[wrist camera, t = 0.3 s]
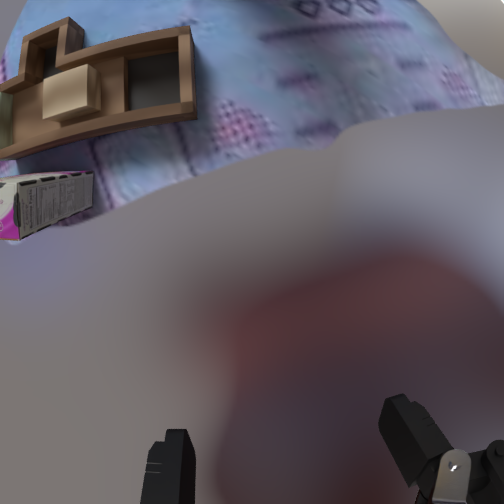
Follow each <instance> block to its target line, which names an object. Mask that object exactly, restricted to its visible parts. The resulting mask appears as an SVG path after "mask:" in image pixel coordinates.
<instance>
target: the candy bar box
mask: <svg viewBox="0 0 504 504" xmlns="http://www.w3.org/2000/svg"><path fill="white" fill-rule="evenodd" d="M92 190H93V171H60V172H42V173H28V174H23V175H16V176H10V177H4V178H0V239H2V240H17V241H20V240H21V239H24V238H25V237H28V236H30V235H31V234H34V233H36V232H38V231H40V230H42V229H44V228H46V227H48V226H51V225H53V224H55V223H57V222H59V221H61V220H63V219H66V218H68V217H70V216H72V215H75V214H77V213H79V212H82V211H84V210H87V209H89V208H91V207H92V204H93V193H92Z"/></svg>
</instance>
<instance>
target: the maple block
mask: <svg viewBox="0 0 504 504" xmlns="http://www.w3.org/2000/svg"><path fill="white" fill-rule="evenodd" d="M98 111H101V73H100V72H99V71H97V70H96V69H94V68H93V67H92V66H90V65H89V64H86V65H82V66H79V67H76V68H73V69H70V70H67V71H64V72H62V73H59V74H56V75H54V76H51V77H48V78H46V79H44V84H43V119H44V120H50V121H55V122H62V121H65V120H69V119H72V118H76V117H79V116H83V115H86V114H90V113H94V112H98Z"/></svg>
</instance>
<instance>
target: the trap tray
mask: <svg viewBox="0 0 504 504" xmlns="http://www.w3.org/2000/svg"><path fill="white" fill-rule="evenodd" d="M83 37H84V29H83V28H82V27H81V26H79V25H78V24H77V23H76V22H75V21H74V20H73V19H71V18H70V17H66V18H64V19H61V20H59V21H56V22H54V23H52V24H49V25H47V26H45V27H43V28H40V29H38V30H36V31H34V32H32V33H30V34H28V35H26V36H24V37H23V41H22V48H21V54H20V62H19V71H18V76H16V77H14V78H12V79H10V80H8V81H6V82H4V83H2V84H0V161H5V160H16V159H19V158H22V157H25V156H28V155H31V154H34V153H38V152H41V151H44V150H47V149H51V148H54V147H57V146H61V145H65V144H68V143H72V142H76V141H80V140H84V139H88V138H92V137H96V136H101V135H105V134H110V133H114V132H119V131H124V130H130V129H135V128H141V127H146V126H152V125H159V124H165V123H172V122H180V121H188V120H196V119H197V104H196V86H195V65H194V42H193V37H192V33H191V29H190V26H182V27H175V28H168V29H162V30H157V31H151V32H146V33H141V34H137V35H132V36H128V37H124V38H120V39H116V40H112V41H108V42H105V43H101V44H98V45H95V46H91V47H88V48H85V49H82V48H83ZM86 64H89V65H90V66H92V67H93V68H94V69H96V70H97V71H99V72H100V73H101V111H98V112H94V113H90V114H86V115H83V116H79V117H76V118H72V119H69V120H65V121H62V122H55V121H50V120H44V119H43V84H44V79H46V78H48V77H51V76H54V75H56V74H59V73H62V72H64V71H67V70H70V69H73V68H76V67H79V66H82V65H86Z"/></svg>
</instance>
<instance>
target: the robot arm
mask: <svg viewBox="0 0 504 504" xmlns="http://www.w3.org/2000/svg"><path fill="white" fill-rule="evenodd" d="M378 426H379V431H380V433H381V435H382V437H383V439H384V441H385V443H386V445H387V447H388V449H389V450H390V452H391V454H392V456H393V458H394V460H395V462H396V464H397V466H398V468H399V470H400V471H401V474H402V475H403V478H404V479H405V481H406V483H407V485H408V487H409V488H410V487H412V486H414V485H416V484H417V485H418V486H419V490H418V493H417V496H416V500H415V503H414V504H466V502H467V504H504V440H495V441H493V442H492V443H491V444H489V446H488V447H487V449H486V450H482V451H477V452H473V453H466V452H464V451H462V450H459V449H454V448H453V447H452V446H451V445H450V443H449V442H448V440H447V439H446V438H445V436H444V434H443V433H442V432H441V430H440V429H439V427H438V426H437V424H435V422H434V420H433V419H432V417H430V414H429V413H428V412H427V410H426V409H425V407H423V406H422V405H420V404H419V403H417V402H415V401H414V402H410V401H409V400H408V398H407V397H406V395H405V394H398V395H395V396H392V397H389V398H386V399H385V401H384V405H383V408H382V412H381V415H380V418H379V422H378ZM145 471H146V473H145V476H144V482H143V489H142V495H141V502H140V504H195V479H196V478H195V477H196V456H195V450H194V447H193V445H192V442H191V439H190V437H189V434H188V431H187V430H186V429H167V431H166V436H165V442H157V441H156V442H155V443H154V444H153V446H152V447H151V449H150V450H149V454H148V458H147V464H146V470H145Z"/></svg>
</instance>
